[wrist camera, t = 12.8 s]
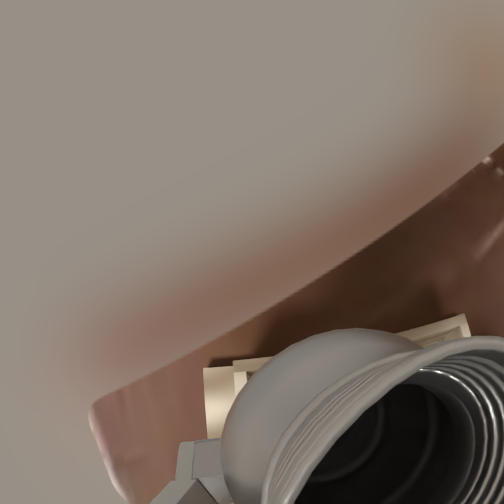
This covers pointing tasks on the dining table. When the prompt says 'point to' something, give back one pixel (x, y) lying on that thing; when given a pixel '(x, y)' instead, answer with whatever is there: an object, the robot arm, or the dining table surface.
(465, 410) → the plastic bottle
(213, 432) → the wooden compartment rack
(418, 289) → the dining table surface
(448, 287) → the dining table surface
